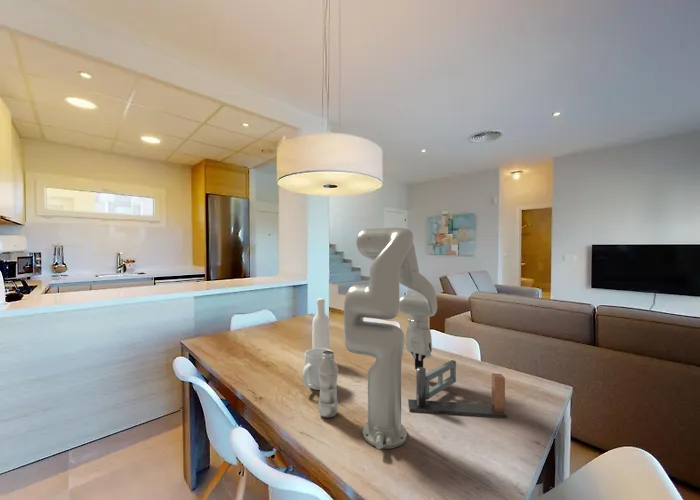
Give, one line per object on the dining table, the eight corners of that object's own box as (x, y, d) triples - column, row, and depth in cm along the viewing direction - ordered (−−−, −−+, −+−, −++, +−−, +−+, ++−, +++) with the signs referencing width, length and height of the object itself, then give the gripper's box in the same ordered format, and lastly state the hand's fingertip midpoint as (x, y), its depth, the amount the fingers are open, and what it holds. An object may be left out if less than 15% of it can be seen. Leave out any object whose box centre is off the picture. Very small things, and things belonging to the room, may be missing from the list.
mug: (315, 400, 104) (315, 363, 104) (291, 393, 109) (291, 357, 109) (338, 383, 117) (338, 350, 117) (315, 377, 122) (315, 346, 122)
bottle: (311, 360, 141) (311, 297, 141) (327, 359, 143) (327, 297, 143) (313, 367, 133) (313, 300, 133) (330, 365, 135) (330, 299, 135)
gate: (426, 399, 100) (426, 376, 100) (422, 398, 101) (422, 375, 101) (455, 381, 114) (455, 361, 114) (452, 380, 115) (452, 359, 115)
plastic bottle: (327, 407, 99) (327, 347, 99) (342, 414, 95) (342, 352, 95) (313, 415, 94) (313, 353, 94) (329, 423, 90) (328, 357, 90)
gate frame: (506, 417, 93) (506, 376, 93) (409, 411, 96) (409, 371, 96) (499, 407, 99) (499, 368, 99) (408, 402, 102) (408, 364, 102)
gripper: (398, 321, 123) (398, 365, 123) (429, 329, 111) (429, 377, 111) (409, 318, 128) (409, 361, 128) (440, 325, 116) (440, 372, 116)
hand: (419, 368), depth 120 cm, fingers closed
